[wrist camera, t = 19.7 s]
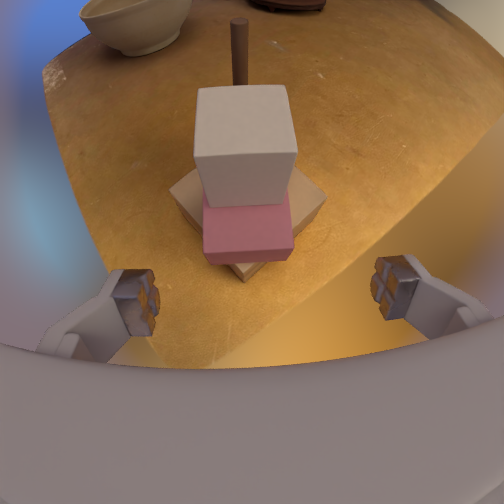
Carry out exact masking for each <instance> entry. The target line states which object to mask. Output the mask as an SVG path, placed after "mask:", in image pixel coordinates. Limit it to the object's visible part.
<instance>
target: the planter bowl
mask: <svg viewBox="0 0 504 504" xmlns="http://www.w3.org/2000/svg"><path fill="white" fill-rule="evenodd" d="M191 4H192V0H90V1H89V2H88V3H87V4H86V5H85V6H84V7H83V8H82V9H81V10H80V12H79V16H80V18H81V20H82V21H83V22H85V24H86V26H87V28H88V29H89V30H90V32H91V33H92V34H93V35H94V36H95V37H96V38H97V39H98V40H99V41H101V42H102V43H104V44H106V45H108V46H110V47H112V48H115V49H118V50H120V51H121V53H122V54H123V55H126V56H131V57H133V56H142V55H146V54H150V53H153V52H155V51H158V50H160V49H162V48H164V47H166V46H167V45H169V44H170V43H172V42H173V41H174V40H175V39H176V38H177V37H178V35H179V33H180V27H181V26H182V24H183V22H184V21H185V19H186V17H187V15H188V13H189V10H190V7H191Z"/></svg>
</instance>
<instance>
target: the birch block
mask: <svg viewBox="0 0 504 504" xmlns="http://www.w3.org/2000/svg"><path fill="white" fill-rule="evenodd" d="M168 190H169V192H170V194H171V196H172V197H173V199H174V201H175V202H176V204H177V206H178V207H179V209H180V211H181V212H182V214H183V215H184V217H185V218H186V219H187V220H188V221H189V222H190V223H191V225H192V226H193V227H194V228H195V229H196V230H197V231H198V233H199V234H200V235H201V236H202V237H203V185H202V182H201V179H200V176H199V173H198V170H197V167H196V168H195V169H194V170H192V171H191V172H190V173H188V174H187V175H186V176H185V177H183V178H182V179H181V180H179V181H178V182H177V183H176V184H174V185H173V186H172V187H171V188H170V189H168ZM288 195H289V203H290V212H291V221H292V230H293V238H294V237H295V236H296V235H298V234H299V233H300V232H301V231H302V230H303V229H304V228H305V227H306V226H307V225H308V224H309V223H311V222H312V221H313V219H314V218H315V216H316V215H317V213H318V211H319V210H320V208H321V207H322V205H323V204H324V202H325V201H326V199H327V197H328V196H327V195H326V194H325V193H324V192H323V191H322V190H321V189H320V188H319V187H317V186H316V185H315V184H314V183H313V182H312V181H311V180H310V179H309V178H308V177H307V176H306V175H305V174H304V173H303V172H301V171H300V170H299V169H298V168H297V167H296V166H295V165H294V167H293V170H292V174H291V177H290V180H289V184H288ZM266 263H267V262H254V263H237V264H227V265H228V266H229V267H230V268H231V269H232V270H233V271H234V273H235V274H236V275H237V276H238V277H239V278H240V279H241V280H242V281H243V282H244V283H245V282H246V281H247V280H248V279H249V278H250V277H252V276H253V275H254V274H255V273H256V272H257V271H258V270H259V269H260V268H261V267H263V266H264V265H265V264H266Z"/></svg>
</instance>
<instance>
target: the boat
mask: <svg viewBox="0 0 504 504" xmlns="http://www.w3.org/2000/svg"><path fill="white" fill-rule="evenodd" d="M230 28H231V51H232V72H233V86H222V87H210V88H200V89H198V94H197V106H196V119H195V134H194V152H193V157H194V160H195V163H196V167H197V170H198V173H199V176H200V179H201V182H202V185H203V254H204V255H205V257H206V258H207V260H208V261H209V263H210V264H211V265H219V264H237V263H254V262H272V261H286V260H287V258H288V257H289V255H290V254H291V252H292V251H293V249H294V239H293V230H292V221H291V212H290V203H289V195H288V184H289V180H290V177H291V174H292V170H293V167H294V163H295V160H296V157H297V153H298V149H297V143H296V137H295V132H294V127H293V121H292V116H291V111H290V106H289V102H288V97H287V92H286V87H285V85H248V20H247V19H245V18H234V19H232V20H231V21H230Z"/></svg>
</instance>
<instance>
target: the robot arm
mask: <svg viewBox="0 0 504 504" xmlns="http://www.w3.org/2000/svg"><path fill="white" fill-rule="evenodd" d="M375 269H376V271H377V272H376V273H375V274H374V275H373V276H372V278H371V283H370V287H371V288H370V291H371V294H372V297H373V299H374V300H375V301H376V302H378V303H379V304H380V306H379V310H380V312H381V314H382V315H383V317H384V319H385V320H393V319H400V318H404V319H405V320H406V321H407V322H409V323H410V324H411V325H412V326H413V327H415V328H416V329H417V330H418V331H420V332H421V333H422V334H423V335H425V336H426V337H427V338H428V339H429V340H427V341H424V342H420V343H416V344H412V345H408V346H403V347H399V348H395V349H390V350H386V351H381V352H375V353H370V354H365V355H359V356H353V357H347V358H341V359H335V360H327V361H320V362H311V363H304V364H293V365H282V366H270V367H254V368H235V369H234V368H231V369H173V368H150V367H138V366H125V365H116V364H107V362H108V361H109V360H110V359H111V358H112V356H113V355H114V354H115V353H116V352H117V351H118V350H119V349H120V348H121V347H122V346H123V345H124V344H125V343H126V342H127V341H128V339H130V336H152V335H153V331H154V328H155V324H156V322H155V319H154V317H155V316H156V315H158V314H159V310H160V294H159V291H158V288H157V287H155V286H154V285H153V283H154V281H155V277H154V273H153V271H152V270H151V269H126V270H125V269H118V270H112V271H111V273H110V275H109V276H108V278H107V280H106V281H105V283H104V285H103V287H102V288H101V290H100V292H99V294H98V296H97V297H93V298H91V299H90V300H88V301H87V302H85V303H84V304H82V305H81V306H79V307H78V308H76V309H75V310H73V311H72V312H71V313H69V314H68V315H66V316H65V317H63V318H62V319H61V320H59V321H58V322H56V323H55V324H54V325H52V326H51V327H49V328H48V329H47V330H46V332H45V334H44V336H43V338H42V340H41V341H40V343H39V345H38V347H37V349H36V351H35V352H34V351H29V350H26V349H21V348H17V347H13V346H9V345H6V344H2V343H0V504H504V315H503V316H501V317H498V318H496V319H494V317H493V316H492V315H491V314H490V312H489V311H488V310H487V309H486V307H485V306H484V305H483V303H482V302H481V301H480V300H478V299H476V298H474V297H473V296H471V295H469V294H467V293H465V292H463V291H461V290H460V289H458V288H456V287H454V286H452V285H450V284H448V283H446V282H444V281H442V280H440V279H438V278H436V277H432V276H431V275H430V274H429V272H428V271H427V270H426V269H425V268H424V267H423V265H422V264H421V263H420V262H419V261H418V260H417V259H416V257H415V256H414V255H412V254H407V255H400V256H388V257H378V258H377V260H376V263H375Z"/></svg>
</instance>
